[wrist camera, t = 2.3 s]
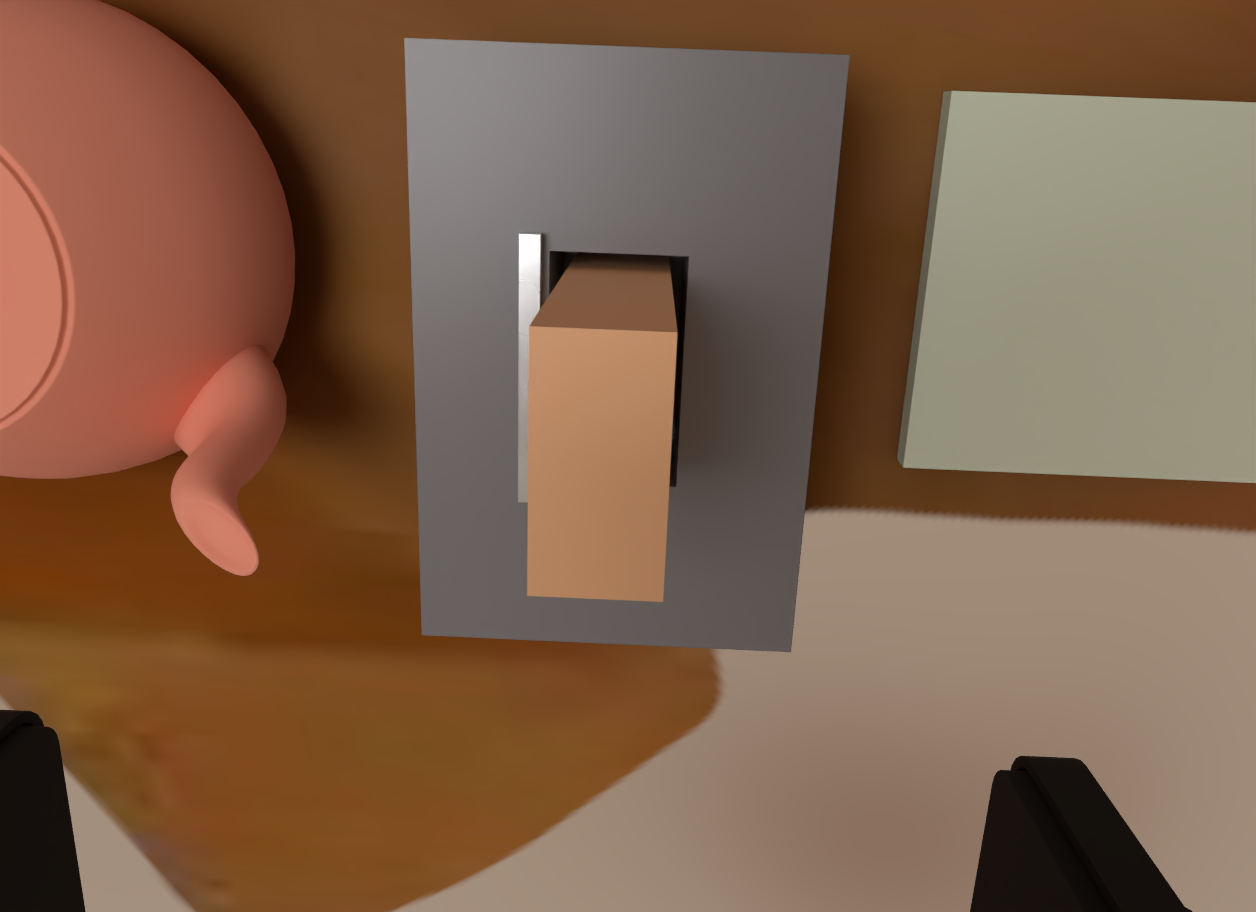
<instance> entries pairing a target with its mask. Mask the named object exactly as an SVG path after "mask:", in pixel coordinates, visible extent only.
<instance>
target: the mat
mask: <svg viewBox="0 0 1256 912" xmlns="http://www.w3.org/2000/svg"><path fill="white" fill-rule="evenodd" d="M897 460H898V461H899V463H900V464H901V465H902V467H903V468H922V469H945V470H968V471H991V472H1014V473H1037V474H1060V475H1083V476H1106V477H1129V478H1152V479H1175V480H1198V481H1221V482H1244V483H1256V102H1230V101H1204V100H1178V99H1152V98H1126V97H1100V96H1074V95H1048V94H1022V93H996V92H970V91H947V92H943V99H942V107H941V115H940V123H939V131H938V139H937V147H936V155H935V162H934V170H933V178H932V186H931V194H930V202H929V210H928V218H927V226H926V233H925V241H924V249H923V257H922V265H921V273H920V281H919V289H918V297H917V304H916V312H915V320H914V328H913V336H912V344H911V352H910V360H909V368H908V375H907V383H906V391H905V399H904V407H903V415H902V423H901V431H900V438H899V446H898V454H897Z"/></svg>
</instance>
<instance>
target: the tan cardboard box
mask: <svg viewBox="0 0 1256 912" xmlns="http://www.w3.org/2000/svg"><path fill="white" fill-rule="evenodd" d="M676 351H677V324H676V315H675V306H674V297H673V289H672V280H671V271H670V262H669V256H665V255H641V254H616V253H592V252H578V253H577V254H576V256H575V257H574V259H573V260H572V262H571V263H570V265H569V266H568V268H567V269H566V271H565V272H564V274H563V275H562V277H561V278H560V280H559V281H558V283H557V284H556V286H555V288H554V289H553V291H552V292H551V294H550V295H549V297H548V298H547V300H546V301H545V303H544V304H543V306H542V307H541V309H540V310H539V312H538V313H537V315H536V316H535V318H534V319H533V321H532V322H531V324H530V325H529V398H528V546H527V596H541V597H563V598H585V599H607V600H629V601H651V602H663V595H664V576H665V557H666V539H667V520H668V501H669V482H670V463H671V445H672V426H673V407H674V388H675V369H676Z"/></svg>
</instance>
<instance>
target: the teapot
mask: <svg viewBox="0 0 1256 912" xmlns="http://www.w3.org/2000/svg"><path fill="white" fill-rule="evenodd" d="M294 285H295V248H294V239H293V231H292V222H291V218H290V214H289V210H288V206H287V202H286V198H285V194H284V191H283V188H282V185H281V183H280V180H279V177H278V175H277V172H276V170H275V167H274V164H273V162H272V160H271V158H270V156H269V154H268V152H267V150H266V149H265V147H264V145H263V143H262V141H261V139H260V137H259V135H258V133H257V131H256V130H255V128H254V127H253V125H252V124H251V122H250V121H249V120H248V118H247V117H246V115H245V114H244V112H243V111H242V109H241V108H240V106H239V105H238V103H237V102H236V101H235V100H234V99H233V97H232V96H231V95H230V94H229V93H228V91H227V90H226V89H225V88H224V87H223V86H222V84H221V83H220V82H219V81H218V80H217V79H216V77H215V76H214V75H213V74H212V73H210V72H209V71H208V70H207V69H206V68H205V67H204V66H203V65H202V64H201V63H200V62H199V61H198V60H196V59H195V58H194V57H193V56H192V55H191V54H190V53H189V52H188V51H187V50H185V49H184V48H183V47H181V46H180V45H178V44H177V43H176V42H174V41H173V40H172V39H170V38H169V37H167V36H166V35H165V34H163V33H162V32H161V31H159V30H158V29H156V28H155V27H153V26H151V25H149V24H147V23H146V22H144V21H142V20H140V19H139V18H137V17H135V16H133V15H131V14H130V13H128V12H126V11H124V10H121V9H119V8H116V7H114V6H111V5H109V4H106V3H104V2H101V1H99V0H0V475H1V476H10V477H19V478H38V479H58V478H76V477H83V476H90V475H97V474H105V473H112V472H117V471H121V470H124V469H128V468H131V467H135V466H139V465H142V464H146V463H150V462H153V461H157V460H159V459H161V458H164V457H166V456H168V455H171V454H173V453H175V452H177V451H180V450H183V451H184V452H185V453H186V454H187V455H188V457H187V459H186V460H185V461H184V462H183V463H182V465H181V466H180V468H179V469H178V471H177V472H176V475H175V477H174V479H173V482H172V487H171V501H172V506H173V510H174V513H175V516H176V519H177V521H178V523H179V525H180V526H181V528H182V530H183V532H184V533H185V534H186V536H187V537H188V538H189V539H190V541H191V542H192V543H193V544H194V545H195V547H196V548H198V549H199V550H200V551H201V552H202V553H203V554H204V555H205V556H206V557H207V558H209V559H210V560H211V561H212V562H214V563H215V564H216V565H218V566H220V567H221V568H223V569H224V570H226V571H229V572H231V573H233V574H236V575H241V576H246V575H251V574H252V573H253V572H254V571H256V569H257V566H258V563H259V557H258V550H257V547H256V545H255V542H254V539H253V537H252V535H251V533H250V531H249V529H248V527H247V526H246V524H245V521H244V519H243V517H242V515H241V513H240V511H239V509H238V505H237V494H238V491H239V490H240V489H241V488H242V487H243V486H244V485H245V484H246V483H247V482H248V481H249V480H250V479H251V478H252V477H254V476H255V474H256V473H257V472H258V471H259V470H260V469H261V467H262V466H263V465H264V464H265V462H266V461H267V460H268V459H269V457H270V456H271V454H272V452H273V451H274V449H275V447H276V445H277V443H278V441H279V439H280V436H281V434H282V432H283V429H284V425H285V422H286V407H287V396H286V393H285V389H284V386H283V383H282V380H281V378H280V375H279V372H278V370H277V368H276V366H275V365H274V363H273V361H274V358H275V356H276V354H277V352H278V349H279V347H280V345H281V343H282V341H283V337H284V334H285V330H286V327H287V323H288V320H289V316H290V313H291V306H292V299H293V292H294Z"/></svg>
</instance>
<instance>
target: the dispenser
mask: <svg viewBox="0 0 1256 912" xmlns="http://www.w3.org/2000/svg"><path fill="white" fill-rule="evenodd" d="M404 43H405V77H406V111H407V145H408V179H409V213H410V247H411V281H412V315H413V349H414V383H415V417H416V451H417V485H418V519H419V552H420V586H421V620H422V635H431V636H453V637H475V638H497V639H518V640H540V641H562V642H584V643H605V644H627V645H649V646H671V647H692V648H714V649H736V650H758V651H780V652H791V645H792V634H793V625H794V615H795V604H796V595H797V585H798V574H799V564H800V554H801V544H802V534H803V524H804V513H805V503H806V493H807V483H808V473H809V463H810V452H811V442H812V432H813V422H814V412H815V402H816V392H817V381H818V371H819V361H820V351H821V341H822V331H823V320H824V310H825V300H826V290H827V280H828V270H829V259H830V249H831V239H832V229H833V219H834V209H835V199H836V188H837V178H838V168H839V158H840V148H841V138H842V127H843V117H844V107H845V97H846V87H847V77H848V66H849V56H850V55H833V54H807V53H781V52H755V51H728V50H702V49H676V48H650V47H623V46H597V45H571V44H545V43H518V42H492V41H466V40H440V39H413V38H404ZM578 252H592V253H616V254H641V255H665V256H669V262H670V271H671V280H672V289H673V297H674V306H675V315H676V324H677V351H676V369H675V388H674V407H673V426H672V445H671V463H670V482H669V501H668V520H667V539H666V557H665V576H664V595H663V602H651V601H629V600H607V599H585V598H563V597H541V596H527V546H528V398H529V325H530V324H531V322H532V321H533V319H534V318H535V316H536V315H537V313H538V312H539V310H540V309H541V307H542V306H543V304H544V303H545V301H546V300H547V298H548V297H549V295H550V294H551V292H552V291H553V289H554V288H555V286H556V284H557V283H558V281H559V280H560V278H561V277H562V275H563V274H564V272H565V271H566V269H567V268H568V266H569V265H570V263H571V262H572V260H573V259H574V257H575V256H576V254H577V253H578Z"/></svg>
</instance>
